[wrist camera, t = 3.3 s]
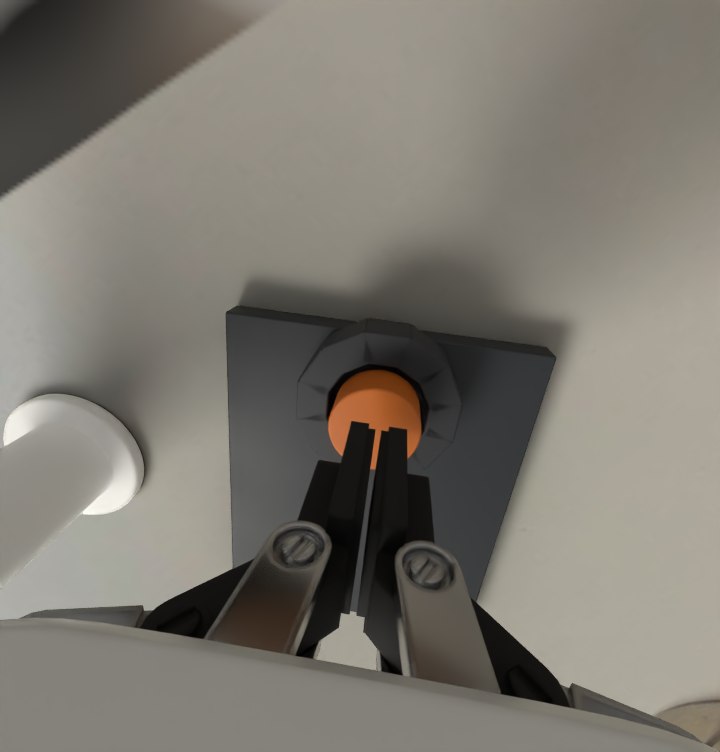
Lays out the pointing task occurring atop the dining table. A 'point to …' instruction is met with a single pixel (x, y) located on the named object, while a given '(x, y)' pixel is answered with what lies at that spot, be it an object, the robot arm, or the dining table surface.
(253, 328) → the scale
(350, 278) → the dining table surface
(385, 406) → the button
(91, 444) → the candle
